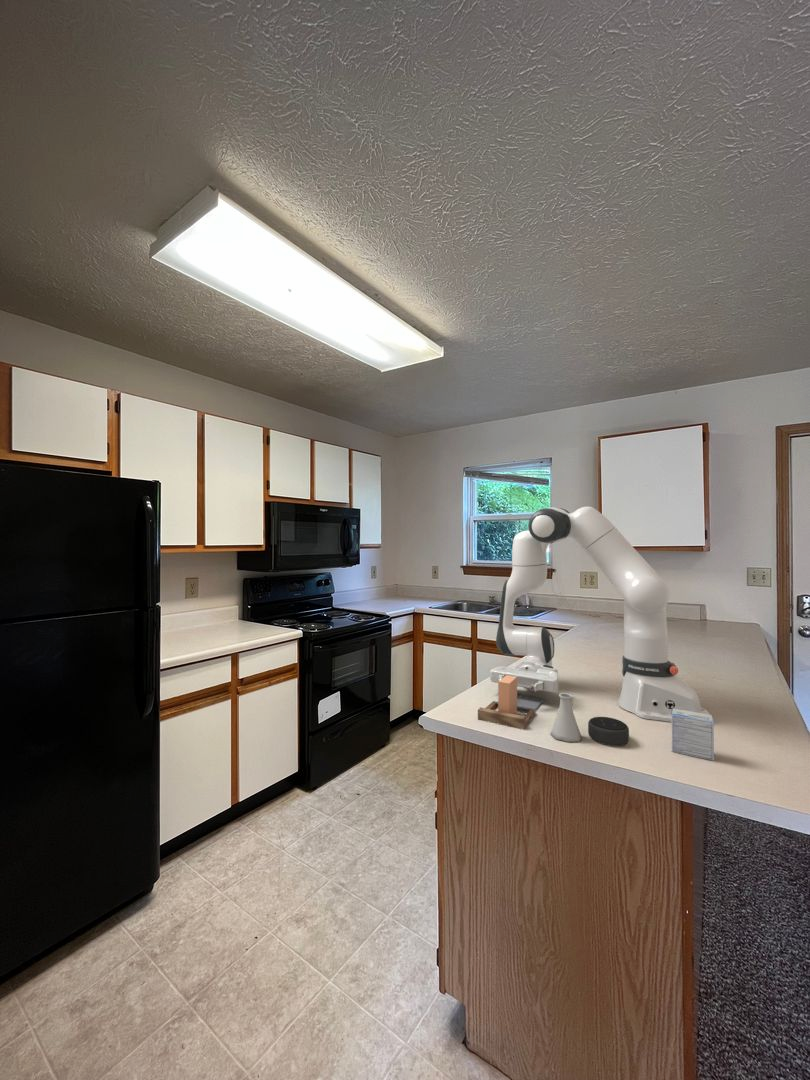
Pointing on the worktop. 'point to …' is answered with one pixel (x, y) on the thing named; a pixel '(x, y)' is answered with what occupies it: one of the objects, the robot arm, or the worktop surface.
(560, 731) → the flask
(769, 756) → the worktop surface
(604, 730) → the smart speaker
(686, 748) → the medicine box
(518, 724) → the wooden square frame
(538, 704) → the mat
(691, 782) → the worktop surface
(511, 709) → the orange rectangular block
